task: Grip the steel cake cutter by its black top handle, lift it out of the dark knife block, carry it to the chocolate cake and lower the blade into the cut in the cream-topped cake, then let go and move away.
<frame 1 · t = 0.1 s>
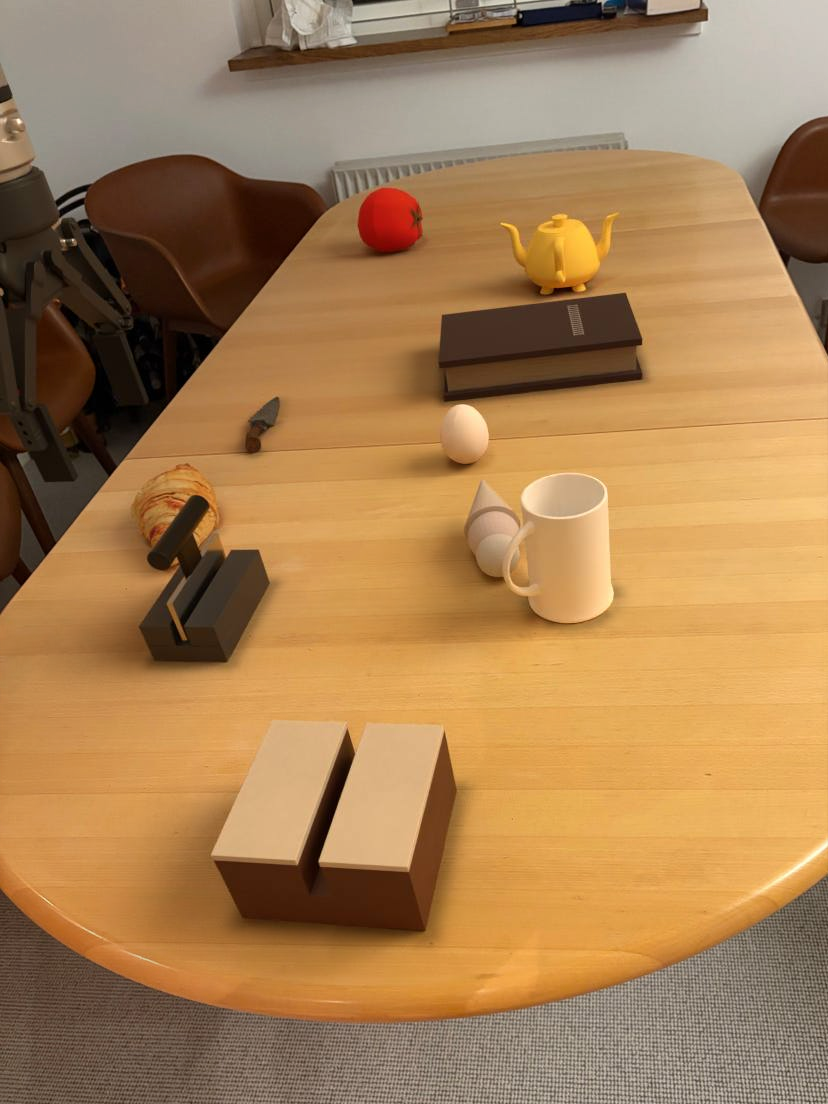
hand: (100, 439, 79), 23 cm above the table, tool pointing down, fingers open, 13 cm apart
egg: (468, 462, 116), on the table
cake: (354, 850, 71), on the table
teapot: (563, 287, 159), on the table
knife: (263, 426, 131), on the table
ice cream cone: (493, 548, 100), on the table
tomato: (395, 250, 187), on the table
book: (539, 363, 136), on the table
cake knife: (208, 605, 95), point 2 cm above the table, touching knife block
mug: (557, 604, 91), on the table
croissant: (182, 528, 112), on the table
knife block: (214, 620, 96), on the table
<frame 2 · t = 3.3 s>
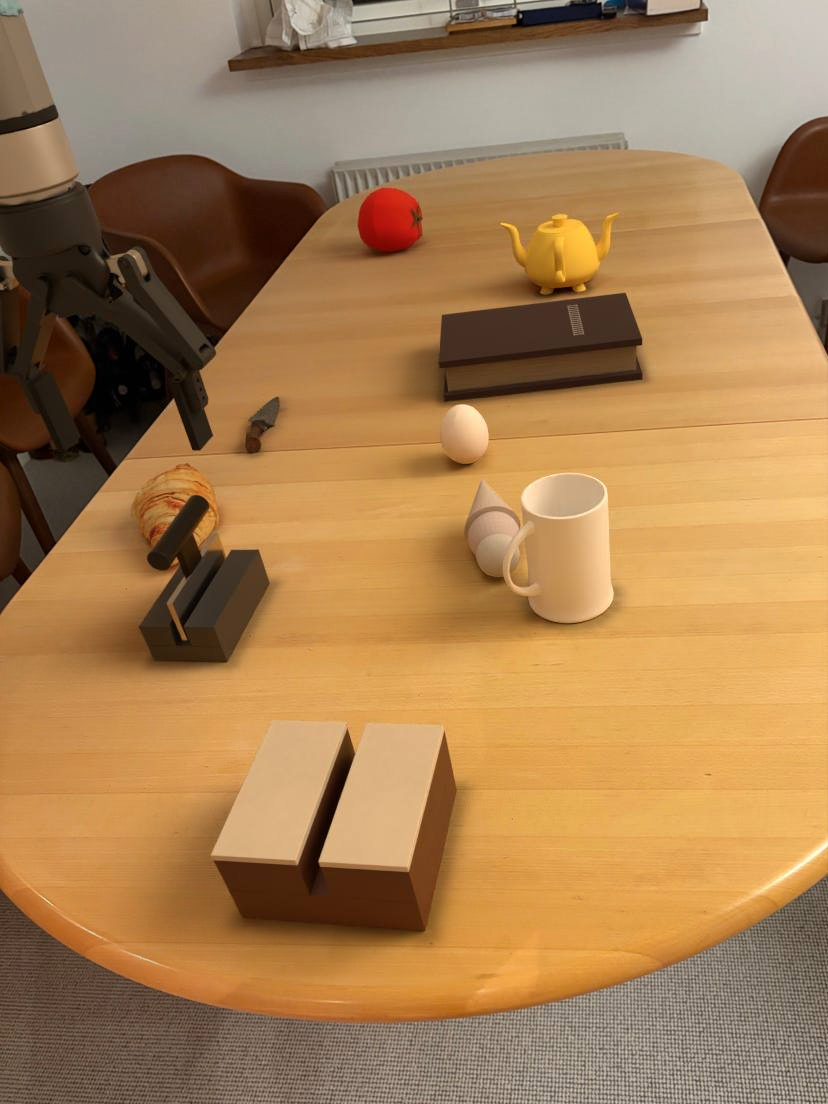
hand: (135, 444, 82), 21 cm above the table, tool pointing down, fingers open, 13 cm apart
nothing on the table moved.
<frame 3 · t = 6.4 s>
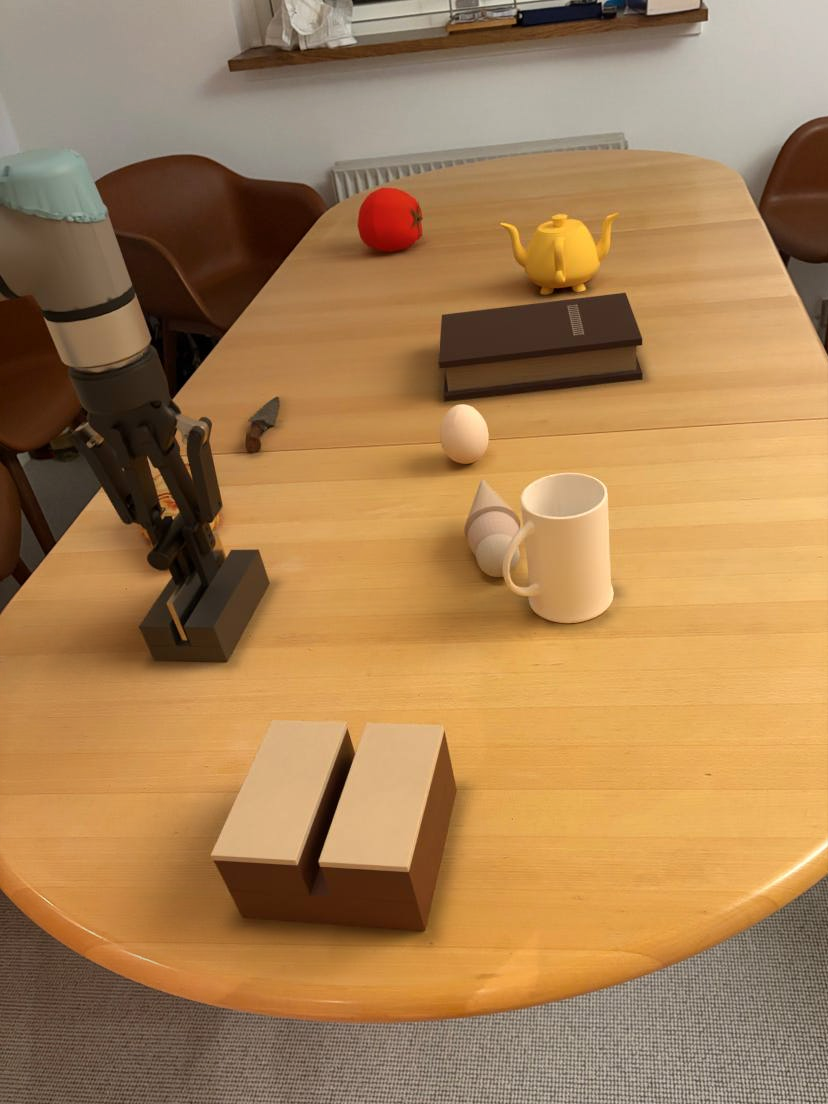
hand: (197, 576, 92), 6 cm above the table, tool pointing down, fingers closed on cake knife, 2 cm apart
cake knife: (208, 605, 95), point 2 cm above the table, touching gripper, knife block
everything else where it was.
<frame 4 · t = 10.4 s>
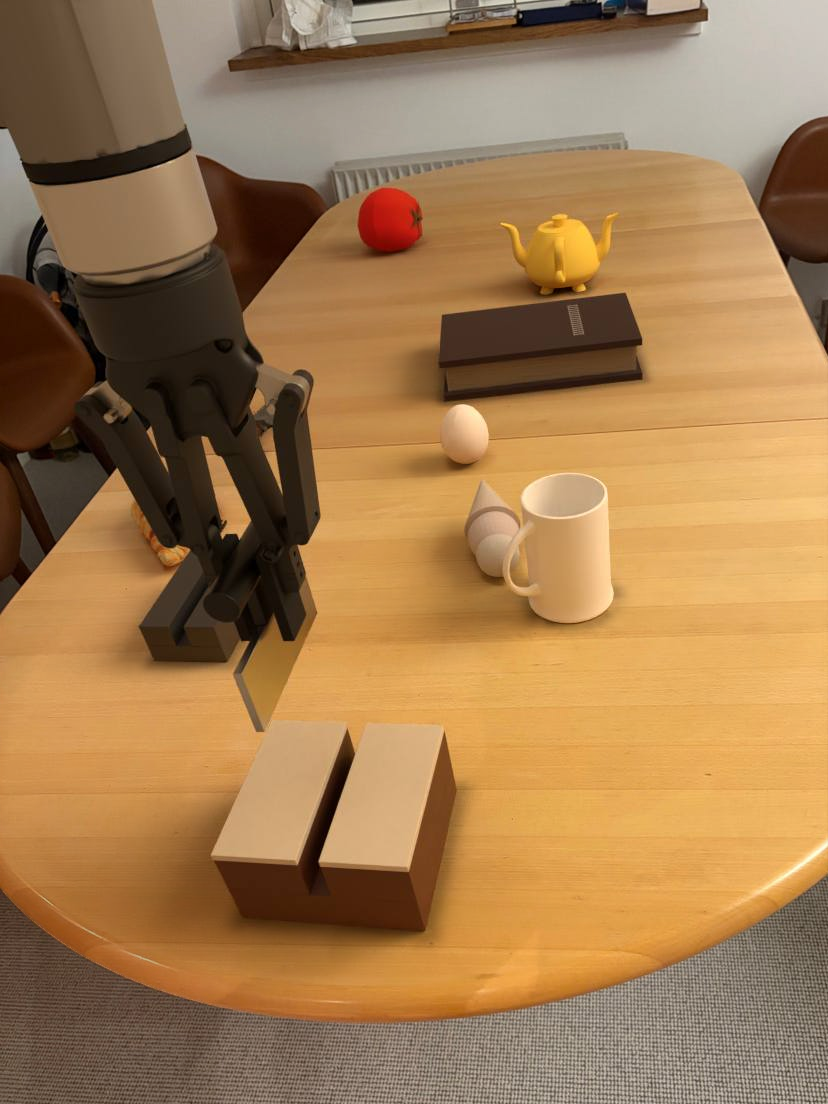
hand: (274, 627, 59), 21 cm above the table, tool pointing down, fingers closed on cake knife, 2 cm apart
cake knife: (289, 668, 62), point 17 cm above the table, touching gripper
everything else where it was.
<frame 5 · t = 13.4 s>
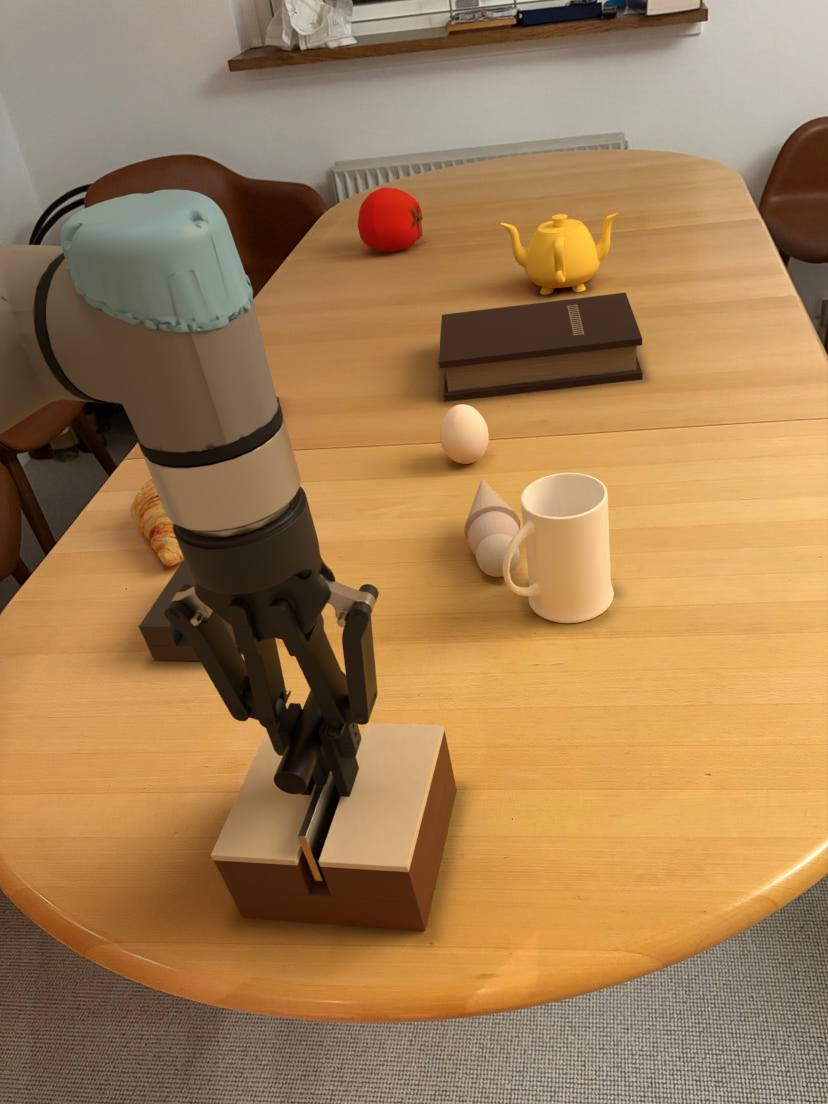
hand: (330, 780, 66), 8 cm above the table, tool pointing down, fingers closed on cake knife, 2 cm apart
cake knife: (341, 813, 68), point 4 cm above the table, touching gripper
everything else where it was.
when the fingers open (9 cm above the table, at t = 14.3 s): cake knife drops 1 cm, resting on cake.
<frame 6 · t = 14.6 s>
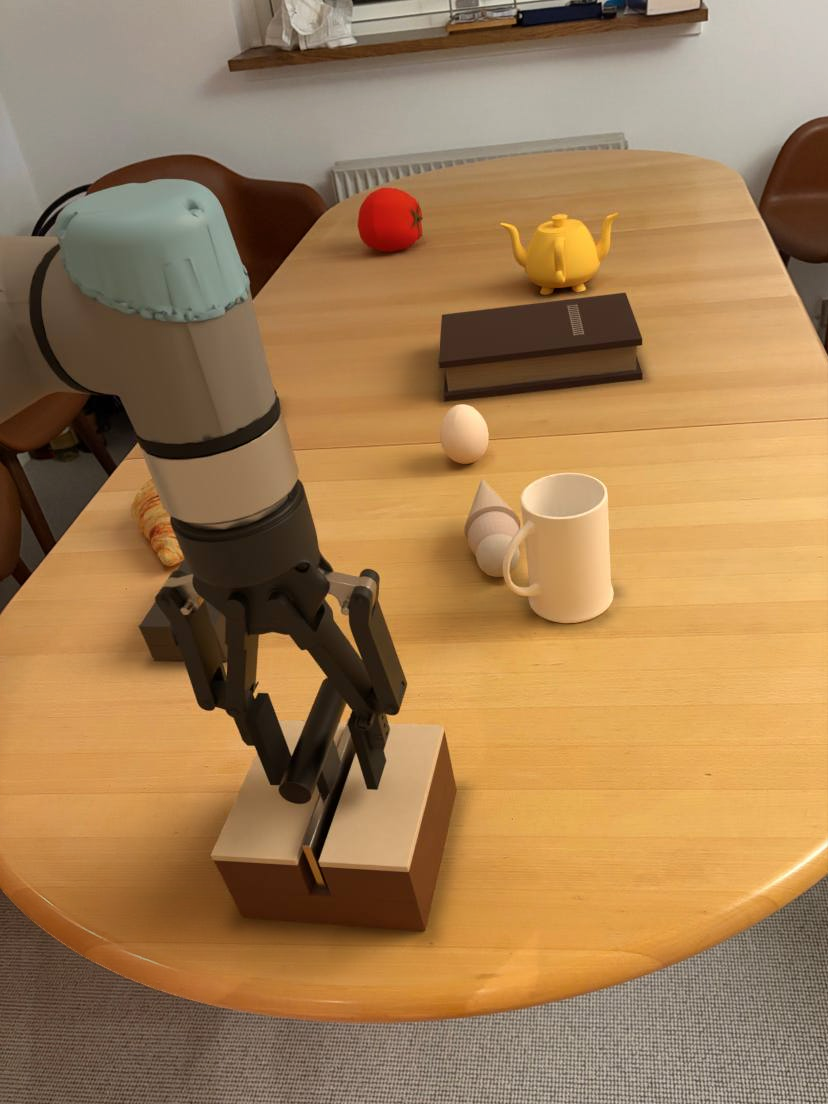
hand: (328, 772, 65), 9 cm above the table, tool pointing down, fingers open, 6 cm apart
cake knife: (345, 821, 69), point 3 cm above the table, touching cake
everything else where it was.
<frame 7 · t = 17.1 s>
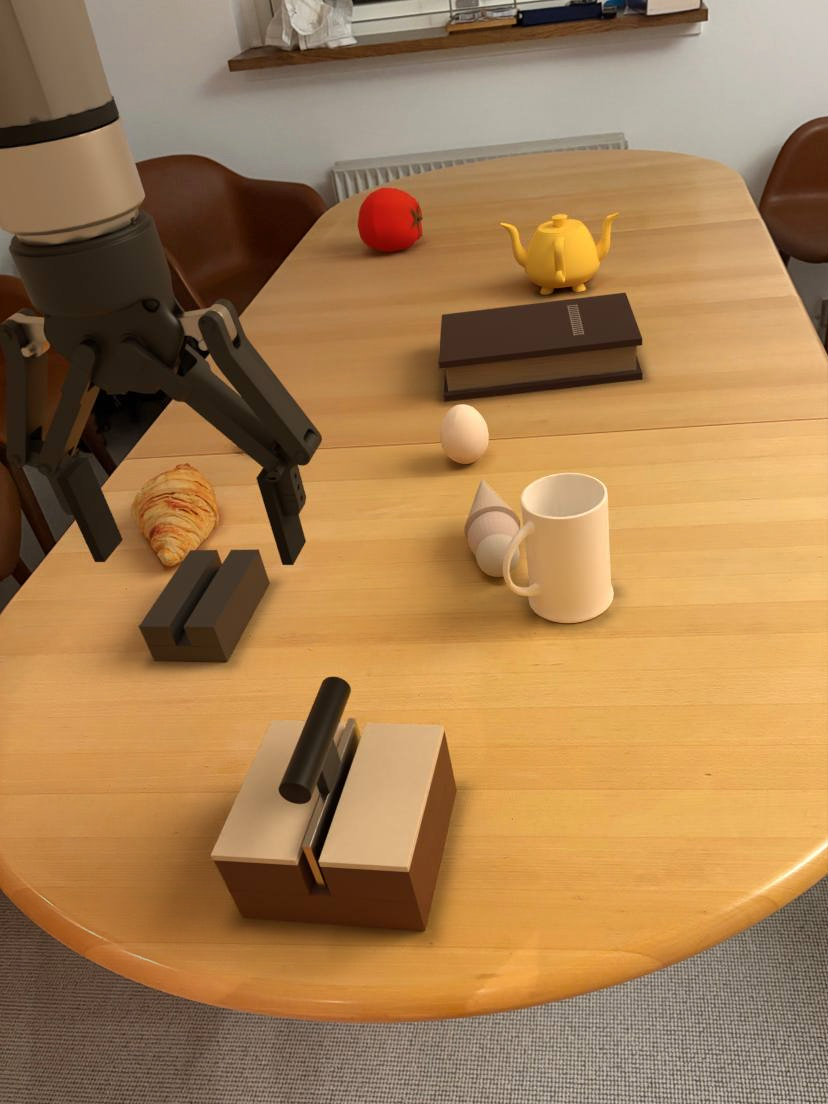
hand: (200, 552, 62), 24 cm above the table, tool pointing down, fingers open, 13 cm apart
nothing on the table moved.
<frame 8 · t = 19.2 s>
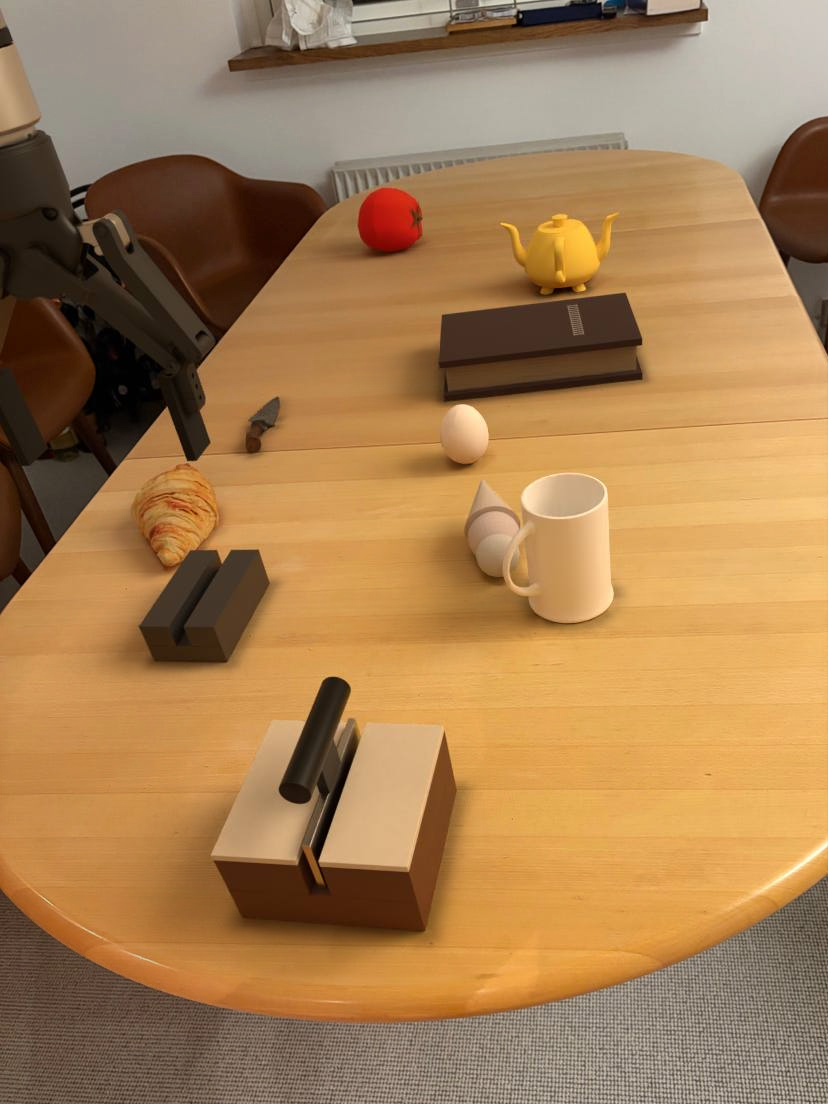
hand: (115, 455, 68), 27 cm above the table, tool pointing down, fingers open, 13 cm apart
nothing on the table moved.
at the end: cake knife 0.0 cm off-centre on the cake, point 3.5 cm above the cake's base; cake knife tilted 0°; the gripper is holding nothing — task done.
